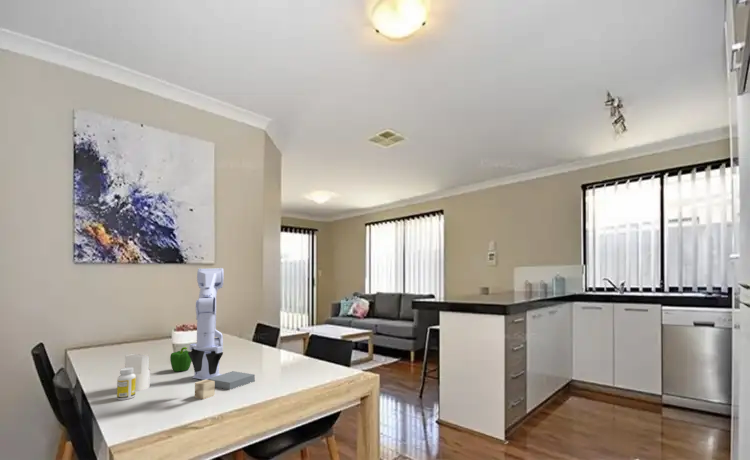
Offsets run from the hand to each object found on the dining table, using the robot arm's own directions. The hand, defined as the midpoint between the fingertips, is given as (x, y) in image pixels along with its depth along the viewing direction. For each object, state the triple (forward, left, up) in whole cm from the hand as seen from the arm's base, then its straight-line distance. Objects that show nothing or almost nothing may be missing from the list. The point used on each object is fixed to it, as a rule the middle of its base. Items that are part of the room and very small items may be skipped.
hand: (205, 372), depth 139 cm
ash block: (0, 0, -8) cm, 8 cm away
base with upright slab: (-32, -5, -8) cm, 33 cm away
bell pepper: (-40, +19, -8) cm, 45 cm away
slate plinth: (-4, +15, -8) cm, 17 cm away
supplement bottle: (-24, -13, -8) cm, 28 cm away
